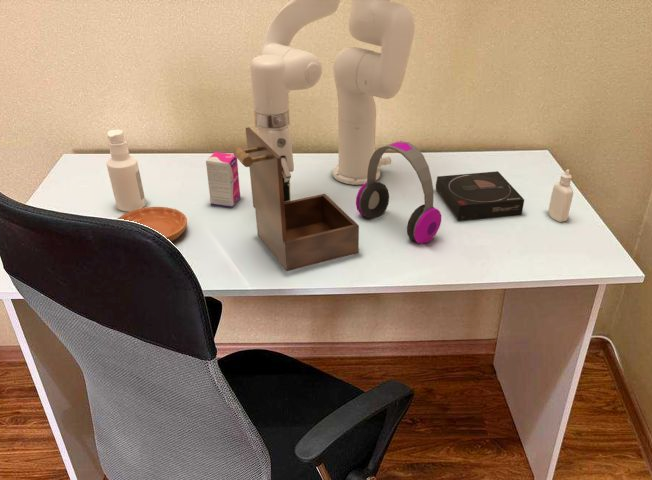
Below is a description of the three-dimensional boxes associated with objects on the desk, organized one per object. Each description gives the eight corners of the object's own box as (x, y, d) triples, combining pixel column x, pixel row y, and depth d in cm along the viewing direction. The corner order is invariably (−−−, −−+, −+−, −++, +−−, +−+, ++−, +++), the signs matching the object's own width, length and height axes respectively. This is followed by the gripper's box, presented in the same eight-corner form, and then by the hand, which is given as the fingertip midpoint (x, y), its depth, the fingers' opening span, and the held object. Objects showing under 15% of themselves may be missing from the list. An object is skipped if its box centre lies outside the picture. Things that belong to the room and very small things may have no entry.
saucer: (144, 212, 157) (142, 200, 155) (202, 225, 152) (200, 213, 150) (99, 243, 145) (96, 231, 143) (161, 258, 141) (158, 246, 139)
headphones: (443, 238, 150) (452, 154, 138) (417, 252, 145) (424, 165, 133) (377, 207, 161) (380, 126, 149) (352, 219, 156) (352, 136, 144)
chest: (325, 222, 155) (324, 193, 150) (358, 256, 143) (359, 225, 139) (257, 238, 148) (255, 208, 144) (286, 274, 137) (284, 243, 132)
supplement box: (233, 208, 159) (228, 163, 152) (210, 205, 160) (203, 160, 153) (241, 198, 164) (237, 153, 156) (219, 195, 164) (213, 151, 157)
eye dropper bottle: (565, 212, 162) (576, 165, 154) (567, 223, 157) (578, 175, 150) (547, 210, 162) (557, 164, 154) (548, 221, 158) (558, 174, 150)
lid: (249, 127, 133) (222, 131, 130) (281, 157, 121) (252, 163, 119) (256, 206, 144) (232, 211, 141) (286, 240, 132) (260, 247, 130)
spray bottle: (152, 202, 160) (137, 129, 149) (133, 214, 156) (116, 140, 144) (130, 196, 163) (113, 124, 151) (110, 208, 158) (92, 134, 146)
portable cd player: (494, 184, 173) (497, 170, 170) (521, 214, 160) (524, 199, 158) (435, 190, 170) (436, 175, 167) (457, 221, 157) (459, 205, 154)
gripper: (304, 128, 138) (306, 207, 149) (273, 103, 150) (277, 177, 161) (270, 134, 135) (275, 213, 146) (241, 107, 147) (248, 183, 158)
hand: (276, 194), depth 153 cm, fingers closed on canister, 6 cm apart
